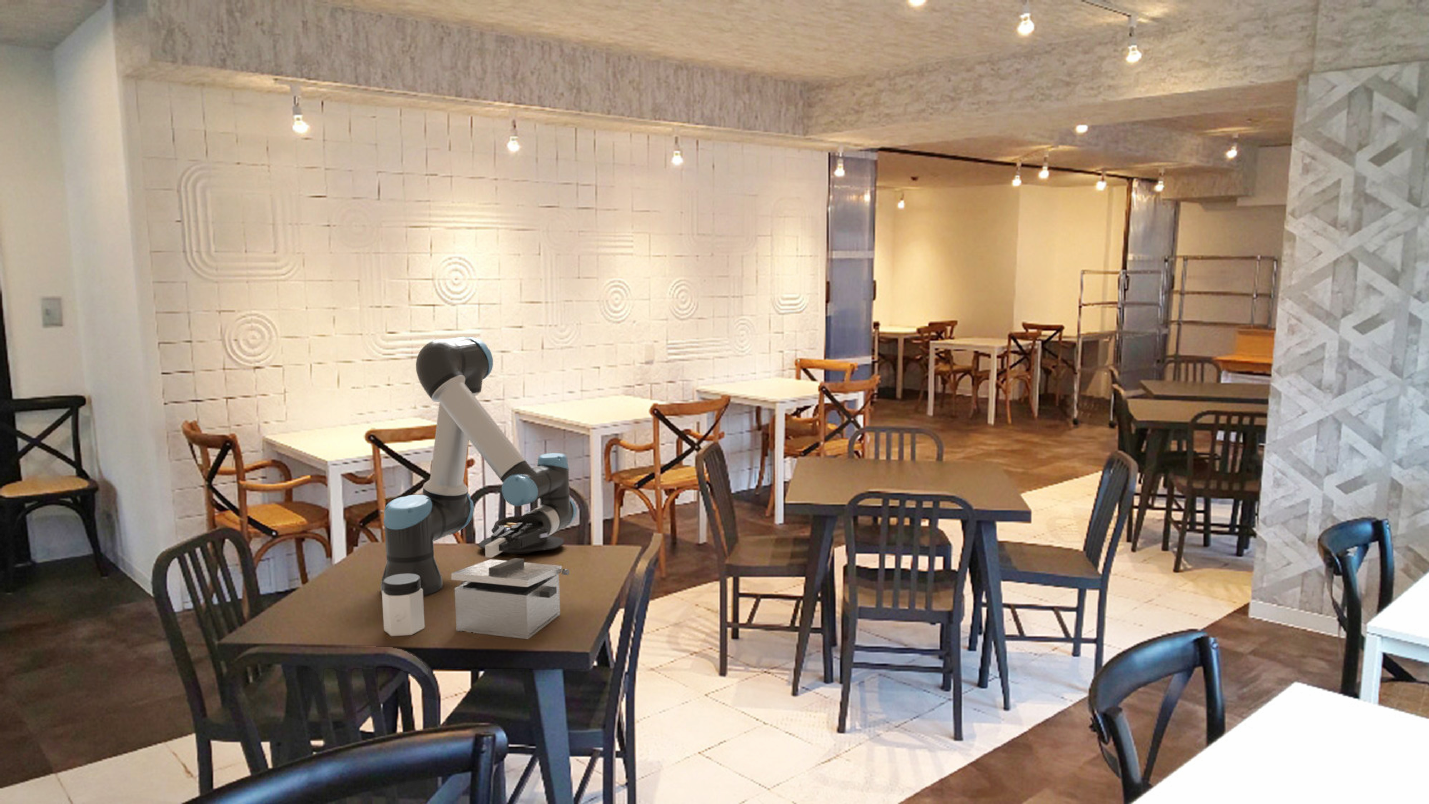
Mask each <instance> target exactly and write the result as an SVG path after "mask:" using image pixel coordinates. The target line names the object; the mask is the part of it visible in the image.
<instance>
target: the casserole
mask: <svg viewBox="0 0 1429 804" xmlns="http://www.w3.org/2000/svg"><path fill="white" fill-rule="evenodd" d="M521 516H522V515H513V516H507V517H503V518H500V519H498V520H496V521H495V522H494V525H493V527H492V528H491V532H492V535H493V534H494V533H495V532H496V531H497V530H498V529H499V526H500V525H503V526H504V527H506V528H510V527H511V526H512V525H516V524H517V523H518V521H519V519H520V518H521ZM489 543H491V536H489V537H487V538H484V539H482V540H481V541H479V543H478V547H479V548H481V549H484V550H485V545H487V544H489ZM564 543H565V539H563V537H560V536H559V537H558V536H551V535H549V536H548V540H544V541H540V542H538V543H534V544H531V545H529V546H526V547H523V548H521V549H515V547H514V548H512V549H507V550H505V551H503V552H502V553H505V554H510V555H511V554H512V555H525V554H532V553H535V552H538V551H550V550H555V549H557V548H559V547H561V546H563V545H564Z"/></svg>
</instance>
